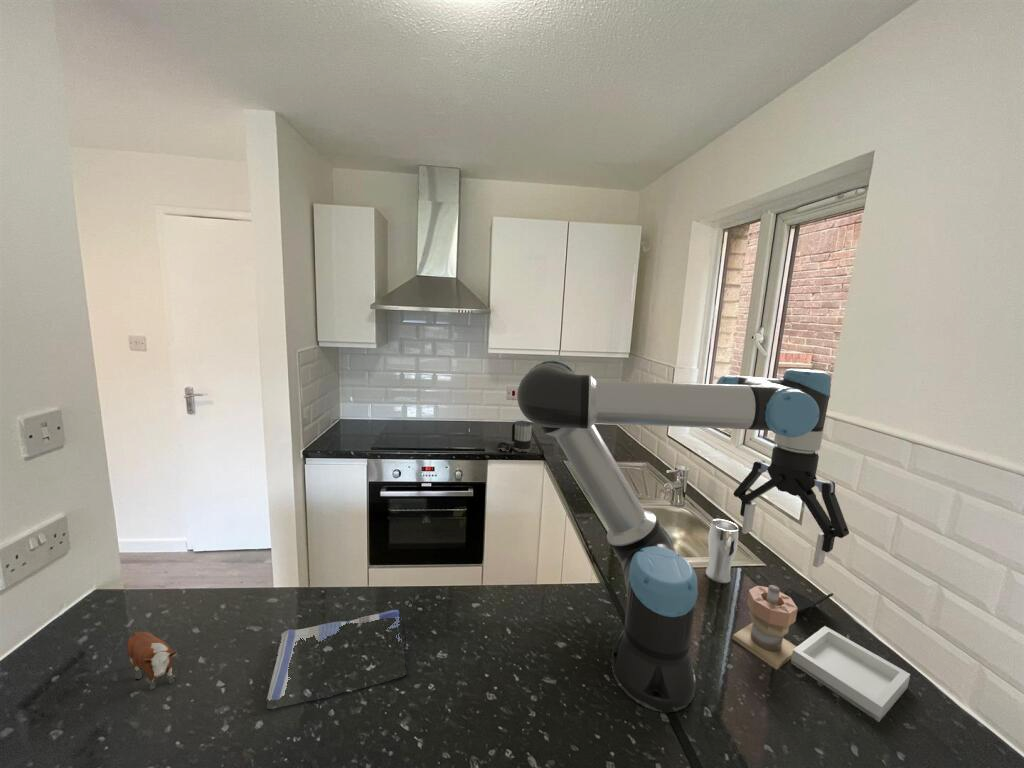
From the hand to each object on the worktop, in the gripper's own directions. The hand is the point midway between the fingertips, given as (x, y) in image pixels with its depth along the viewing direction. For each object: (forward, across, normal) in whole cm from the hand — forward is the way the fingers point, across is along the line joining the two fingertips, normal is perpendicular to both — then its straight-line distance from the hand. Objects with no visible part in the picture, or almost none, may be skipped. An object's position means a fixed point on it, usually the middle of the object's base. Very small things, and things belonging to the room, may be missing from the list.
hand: (779, 547), depth 83 cm
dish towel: (+24, +39, +78) cm, 90 cm away
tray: (+22, -12, -7) cm, 27 cm away
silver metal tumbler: (+23, +19, -14) cm, 33 cm away
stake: (+22, 0, 0) cm, 23 cm away
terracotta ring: (+14, 0, 0) cm, 15 cm away
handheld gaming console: (+23, +2, -20) cm, 30 cm away
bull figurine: (+23, +49, +108) cm, 121 cm away
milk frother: (+23, +134, -20) cm, 137 cm away
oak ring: (+18, 0, 0) cm, 18 cm away
